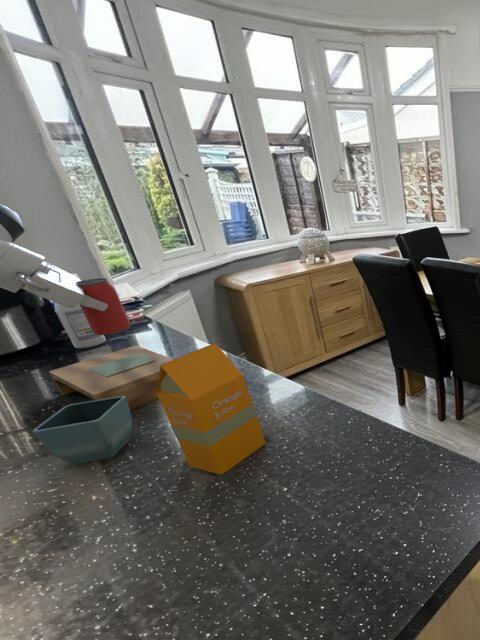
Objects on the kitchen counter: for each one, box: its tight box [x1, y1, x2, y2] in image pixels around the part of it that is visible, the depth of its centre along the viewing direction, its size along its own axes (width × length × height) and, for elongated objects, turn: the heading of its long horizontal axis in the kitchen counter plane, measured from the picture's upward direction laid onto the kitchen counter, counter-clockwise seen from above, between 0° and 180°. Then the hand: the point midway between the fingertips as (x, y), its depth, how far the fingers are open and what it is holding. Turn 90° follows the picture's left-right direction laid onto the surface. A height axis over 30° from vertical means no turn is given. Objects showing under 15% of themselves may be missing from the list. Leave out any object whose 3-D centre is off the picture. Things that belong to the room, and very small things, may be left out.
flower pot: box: [31, 396, 133, 465], centre depth 69 cm, size 9×9×9 cm
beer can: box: [76, 277, 132, 336], centre depth 90 cm, size 7×7×12 cm
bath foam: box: [54, 302, 107, 349], centre depth 115 cm, size 7×7×20 cm
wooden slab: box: [48, 345, 175, 411], centre depth 91 cm, size 16×24×6 cm, turn 62°
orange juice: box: [157, 342, 267, 476], centre depth 66 cm, size 8×9×20 cm
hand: (105, 304), depth 91 cm, fingers closed on beer can, 6 cm apart
